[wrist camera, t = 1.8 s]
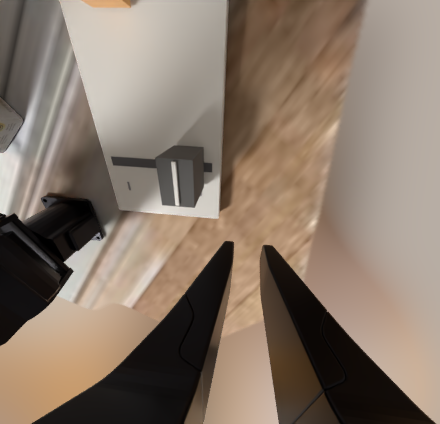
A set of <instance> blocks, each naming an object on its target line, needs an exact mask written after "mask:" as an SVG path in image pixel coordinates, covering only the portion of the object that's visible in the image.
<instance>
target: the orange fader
mask: <svg viewBox="0 0 440 424" xmlns="http://www.w3.org/2000/svg"><path fill="white" fill-rule="evenodd" d="M82 1H83V2H85V3H86V4H88V5H90V6H91V7H93V8H131V4H130V0H82Z"/></svg>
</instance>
